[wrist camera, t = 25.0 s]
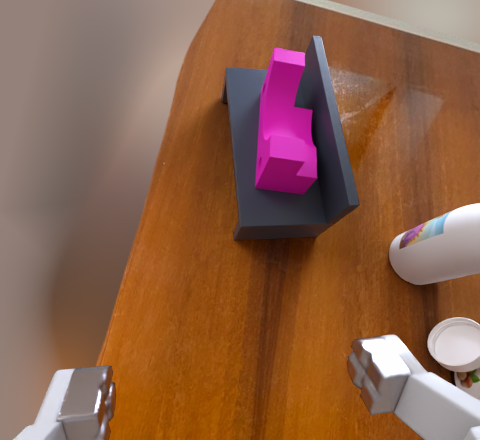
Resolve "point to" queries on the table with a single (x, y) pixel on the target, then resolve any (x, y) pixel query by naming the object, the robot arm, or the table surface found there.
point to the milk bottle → (439, 248)
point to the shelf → (327, 151)
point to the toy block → (284, 129)
